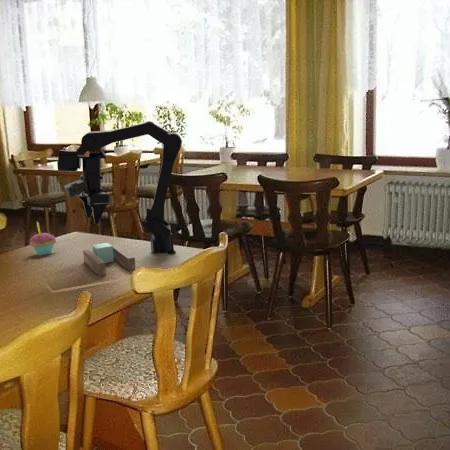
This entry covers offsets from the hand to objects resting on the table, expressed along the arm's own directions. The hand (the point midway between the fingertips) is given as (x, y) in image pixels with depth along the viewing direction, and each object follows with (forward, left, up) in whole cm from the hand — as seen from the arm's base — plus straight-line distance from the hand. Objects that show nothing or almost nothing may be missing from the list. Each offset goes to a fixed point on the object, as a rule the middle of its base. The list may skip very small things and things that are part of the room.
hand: (92, 220), depth 209 cm
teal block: (0, +8, -12) cm, 14 cm away
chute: (0, +14, -12) cm, 18 cm away
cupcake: (+14, -16, -13) cm, 25 cm away
